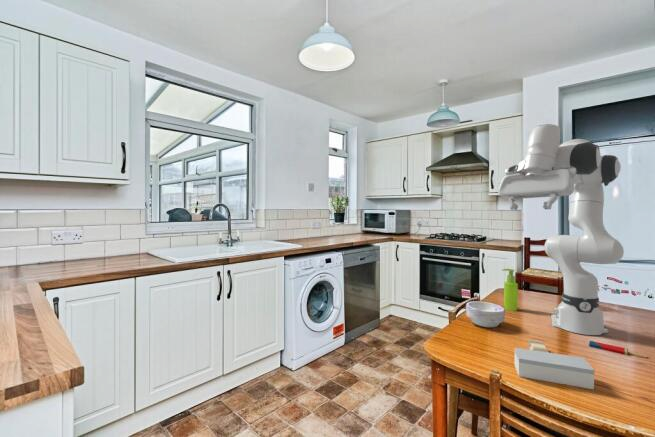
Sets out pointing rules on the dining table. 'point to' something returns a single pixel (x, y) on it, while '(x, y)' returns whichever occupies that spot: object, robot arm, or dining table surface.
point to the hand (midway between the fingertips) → (529, 209)
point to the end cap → (554, 368)
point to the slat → (537, 346)
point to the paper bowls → (485, 313)
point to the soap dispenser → (510, 292)
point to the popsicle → (613, 349)
